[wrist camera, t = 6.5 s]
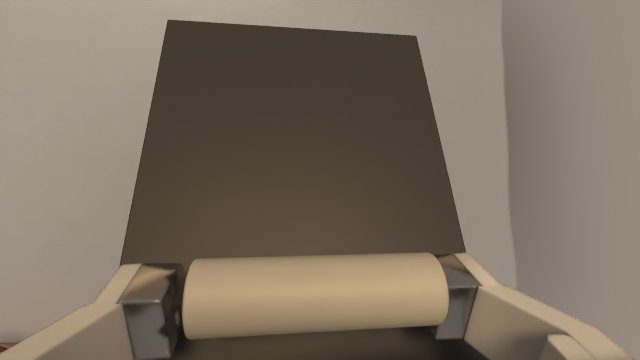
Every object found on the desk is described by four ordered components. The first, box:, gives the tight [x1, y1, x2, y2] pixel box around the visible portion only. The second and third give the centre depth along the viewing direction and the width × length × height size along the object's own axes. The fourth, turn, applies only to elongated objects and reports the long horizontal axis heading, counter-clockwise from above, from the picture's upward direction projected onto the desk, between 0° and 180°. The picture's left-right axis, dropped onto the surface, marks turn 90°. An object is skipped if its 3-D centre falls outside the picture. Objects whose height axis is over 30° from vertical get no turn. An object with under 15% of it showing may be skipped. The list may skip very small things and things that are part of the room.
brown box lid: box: [119, 20, 489, 360], centre depth 12 cm, size 16×13×5 cm
